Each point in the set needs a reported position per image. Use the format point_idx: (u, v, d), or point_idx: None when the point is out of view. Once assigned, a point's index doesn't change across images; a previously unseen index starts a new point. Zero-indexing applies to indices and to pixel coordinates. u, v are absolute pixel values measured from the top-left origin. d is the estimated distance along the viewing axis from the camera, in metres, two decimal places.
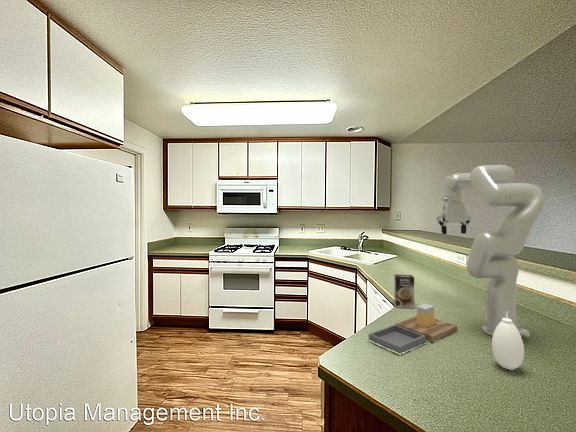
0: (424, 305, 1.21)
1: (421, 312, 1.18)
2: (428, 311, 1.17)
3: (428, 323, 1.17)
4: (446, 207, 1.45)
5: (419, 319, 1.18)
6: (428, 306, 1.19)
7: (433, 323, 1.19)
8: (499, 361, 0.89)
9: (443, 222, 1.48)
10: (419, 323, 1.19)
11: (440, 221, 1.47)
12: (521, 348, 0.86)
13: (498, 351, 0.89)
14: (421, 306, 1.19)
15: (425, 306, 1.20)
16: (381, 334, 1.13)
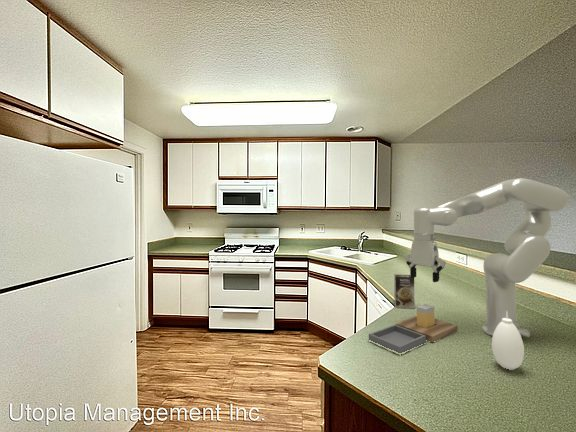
0: (424, 305, 1.21)
1: (421, 312, 1.18)
2: (428, 311, 1.17)
3: (428, 323, 1.17)
4: (437, 247, 1.16)
5: (419, 319, 1.18)
6: (428, 306, 1.19)
7: (433, 323, 1.19)
8: (499, 361, 0.89)
9: None
10: (419, 323, 1.19)
11: None
12: (521, 348, 0.86)
13: (498, 351, 0.89)
14: (421, 306, 1.19)
15: (425, 306, 1.20)
16: (381, 334, 1.13)
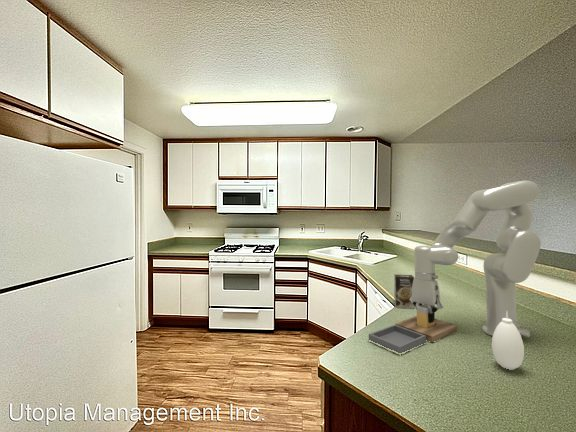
0: (424, 305, 1.21)
1: (421, 312, 1.18)
2: (428, 310, 1.17)
3: (428, 323, 1.17)
4: (438, 286, 1.17)
5: (419, 319, 1.18)
6: None
7: (433, 323, 1.19)
8: (499, 361, 0.89)
9: None
10: (419, 323, 1.19)
11: None
12: (521, 348, 0.86)
13: (498, 351, 0.89)
14: (421, 306, 1.19)
15: (425, 306, 1.20)
16: (381, 334, 1.13)
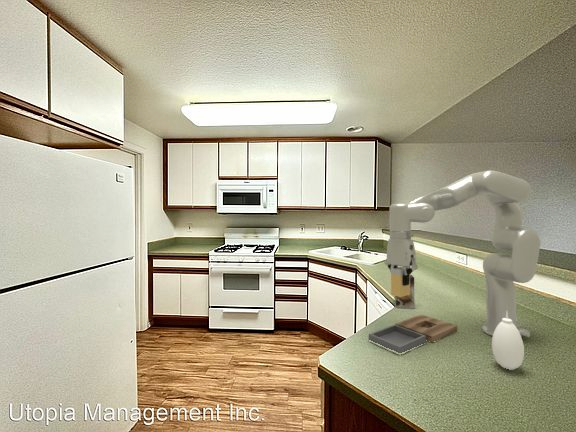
0: (399, 267, 1.12)
1: (395, 274, 1.09)
2: (403, 272, 1.08)
3: (402, 286, 1.08)
4: None
5: (393, 282, 1.10)
6: None
7: (408, 286, 1.10)
8: (499, 361, 0.89)
9: None
10: (393, 286, 1.10)
11: None
12: (521, 348, 0.86)
13: (498, 351, 0.89)
14: (396, 268, 1.11)
15: (400, 268, 1.11)
16: (381, 334, 1.13)
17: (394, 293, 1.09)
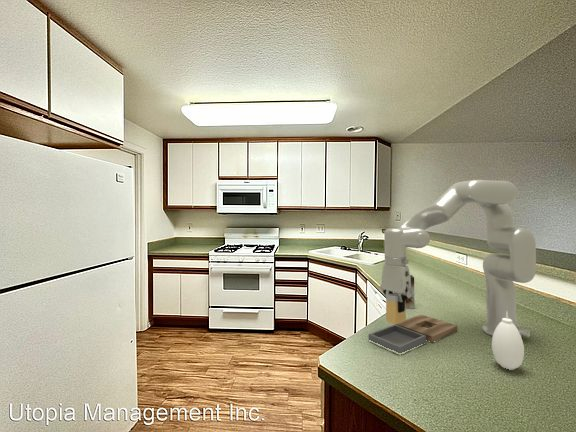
0: (394, 293, 1.10)
1: (390, 300, 1.07)
2: (398, 299, 1.06)
3: (397, 313, 1.06)
4: (409, 272, 1.06)
5: (388, 308, 1.08)
6: None
7: (404, 313, 1.08)
8: (499, 361, 0.89)
9: None
10: (388, 312, 1.08)
11: None
12: (521, 348, 0.86)
13: (498, 351, 0.89)
14: (391, 294, 1.09)
15: (395, 294, 1.09)
16: (381, 334, 1.13)
17: (389, 320, 1.08)
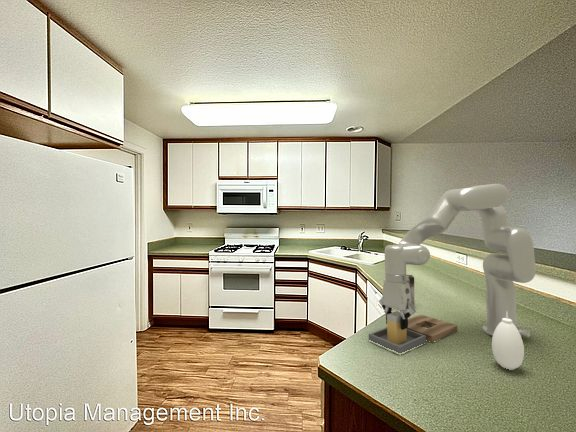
0: (395, 313, 1.10)
1: (391, 320, 1.07)
2: (399, 319, 1.07)
3: (398, 333, 1.06)
4: (409, 289, 1.06)
5: (389, 328, 1.08)
6: (399, 314, 1.09)
7: (405, 332, 1.08)
8: (499, 361, 0.89)
9: None
10: (389, 332, 1.08)
11: None
12: (521, 348, 0.86)
13: (498, 351, 0.89)
14: (392, 314, 1.09)
15: (396, 313, 1.09)
16: (381, 334, 1.13)
17: (390, 340, 1.08)
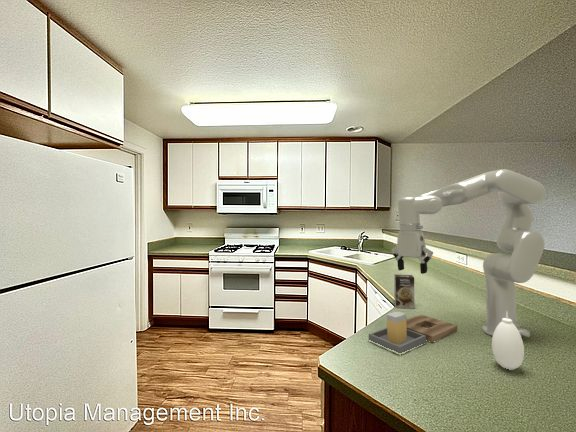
0: (395, 313, 1.10)
1: (391, 320, 1.07)
2: (399, 319, 1.07)
3: (398, 333, 1.06)
4: (423, 237, 1.12)
5: (389, 328, 1.08)
6: (399, 314, 1.09)
7: (405, 332, 1.08)
8: (499, 361, 0.89)
9: None
10: (389, 332, 1.08)
11: None
12: (521, 348, 0.86)
13: (498, 351, 0.89)
14: (392, 314, 1.09)
15: (396, 313, 1.09)
16: (381, 334, 1.13)
17: (390, 340, 1.08)
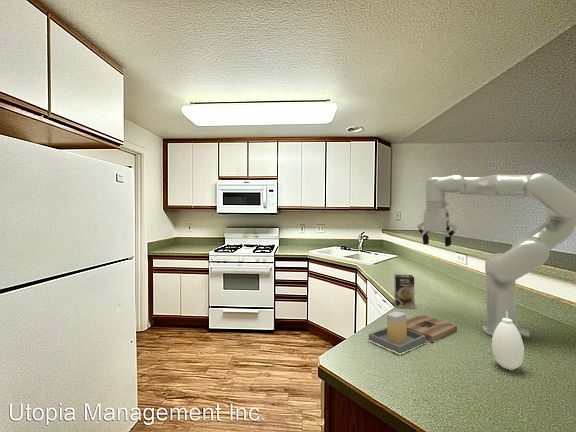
0: (395, 313, 1.10)
1: (391, 320, 1.07)
2: (399, 319, 1.07)
3: (398, 333, 1.06)
4: (448, 214, 1.23)
5: (389, 328, 1.08)
6: (399, 314, 1.09)
7: (405, 332, 1.08)
8: (499, 361, 0.89)
9: None
10: (389, 332, 1.08)
11: None
12: (521, 348, 0.86)
13: (498, 351, 0.89)
14: (392, 314, 1.09)
15: (396, 313, 1.09)
16: (381, 334, 1.13)
17: (390, 340, 1.08)
